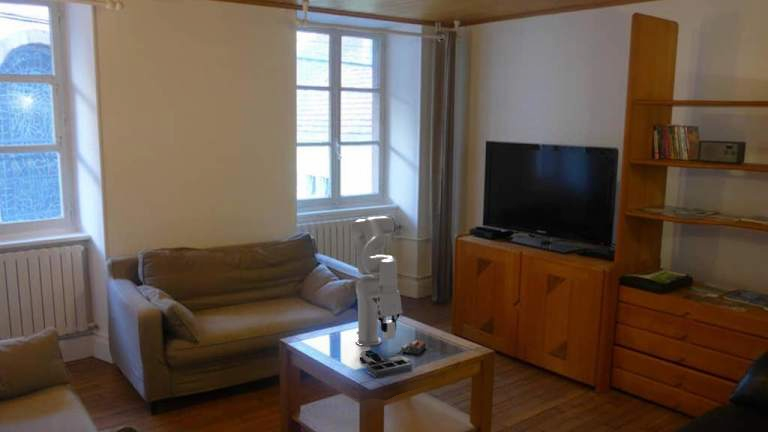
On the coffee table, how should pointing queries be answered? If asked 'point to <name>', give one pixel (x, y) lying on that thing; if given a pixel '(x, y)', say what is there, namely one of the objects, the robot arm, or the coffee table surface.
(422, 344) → the walkie-talkie
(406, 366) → the grey flat frame
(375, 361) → the toy car
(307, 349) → the coffee table surface
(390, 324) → the steel block
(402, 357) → the sage mat
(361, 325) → the robot arm
